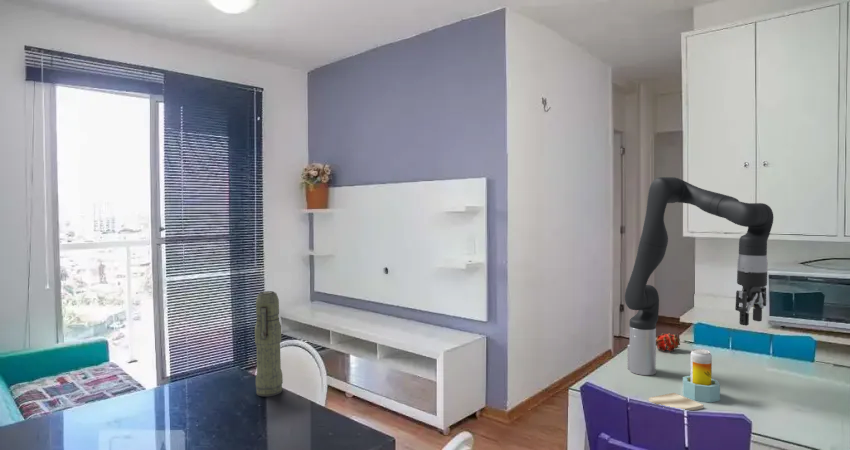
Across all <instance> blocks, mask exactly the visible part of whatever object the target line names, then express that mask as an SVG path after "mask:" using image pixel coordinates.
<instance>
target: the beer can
mask: <svg viewBox="0 0 850 450" xmlns="http://www.w3.org/2000/svg"><path fill="white" fill-rule="evenodd" d="M712 357H713V356H712V353H711V351H709V350H708V349H707V350H706V349H703V348H694V349H692V350H691V352H690V376H691V382H692V383H694V384H698V385H707V386H709V385H712V379H713V378H712V377H713V376H712V372H713V371H712V365H713V364H712V361H713V360H712Z"/></svg>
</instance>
